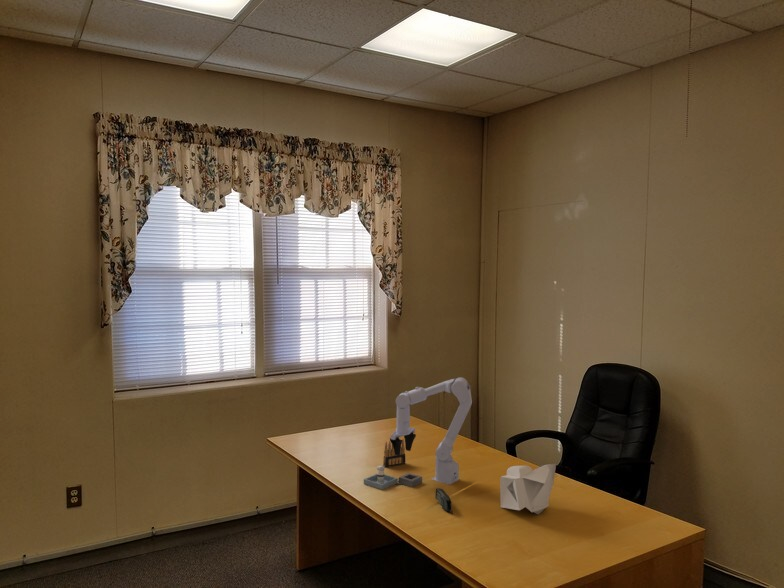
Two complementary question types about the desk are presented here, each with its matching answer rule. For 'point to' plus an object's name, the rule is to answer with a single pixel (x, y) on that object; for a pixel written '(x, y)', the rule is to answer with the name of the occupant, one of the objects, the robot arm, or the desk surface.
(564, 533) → the desk surface
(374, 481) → the parts tray
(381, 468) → the fuse
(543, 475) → the folded paper
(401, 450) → the ammunition clip
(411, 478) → the grey square holder
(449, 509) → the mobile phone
